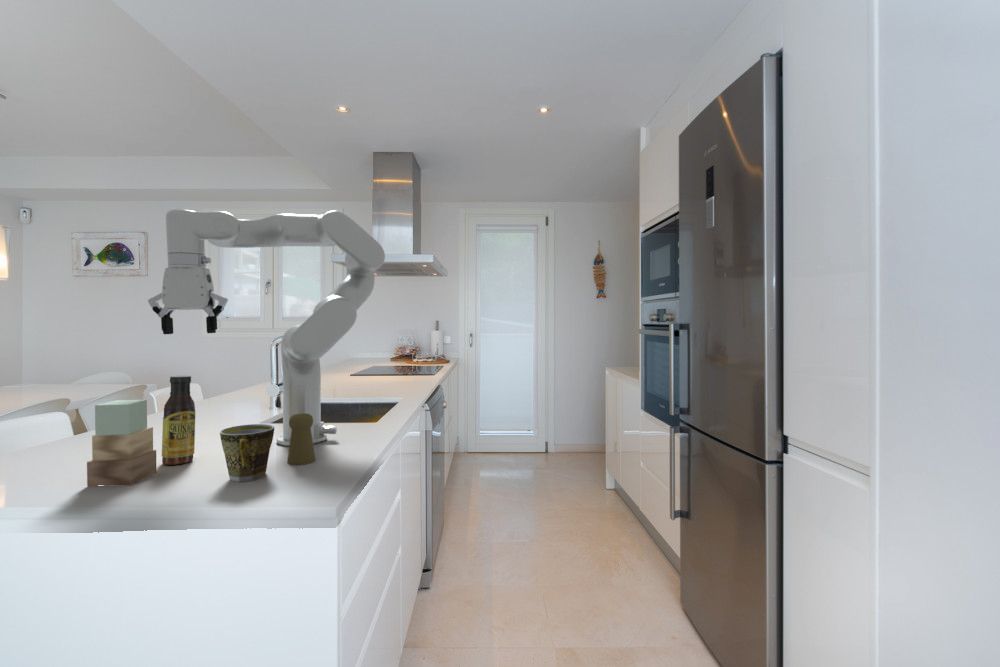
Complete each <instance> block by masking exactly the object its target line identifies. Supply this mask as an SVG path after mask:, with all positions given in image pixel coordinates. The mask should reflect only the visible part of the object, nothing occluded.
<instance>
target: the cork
mask: <svg viewBox="0 0 1000 667" xmlns="http://www.w3.org/2000/svg"><path fill="white" fill-rule="evenodd" d="M312 425H313V417H312V416H311V415H310V414H305V413H301V414H295V415H293V416H291V417H290V420H289V426H290V428H291V429H292V431H291V438H290V446H289V448H288V456H287V462H286V463H287V465H291V466H301V465H302V466H303V465H308V463H309V464H312V463H313V462H314V463H315V461H316V456H315V450H314V444H313V441H312V434H311V426H312Z"/></svg>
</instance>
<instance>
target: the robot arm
mask: <svg viewBox="0 0 1000 667" xmlns="http://www.w3.org/2000/svg"><path fill="white" fill-rule="evenodd" d="M165 225H166V226H165V228H166V230H165V231H166V248H167V249H166V251H167V266H168V267H165V268H164V273H163V278H162V286H161V287H162V288H161V289H162V290H161V293H158V294H157V295H155V296H153V297H151V298H149V299H148V300H147V303H148V304H149V306H150V307H151V309H152V311H153V312H154V313H155V314H156V315H157V316H158V317H159V318H160V321H161V322H160V323H161V324H160V325H161V331H162V334H163V335H172V334H174V320H173V319H174V318H173V317H171V316H172V315H173V314H174V312H175V311H176V310H182V311H183V310H186V311H187V310H188V311H189V310H203V311H204V312H205V313H206V314H207V315H208V316H206V318H205V321H206V333H207V334H216V332H217V329H218V319H217V318H218V316H219V315H220V314H221V313H222V312H223V311H224V310H225V307H226V306H227V304H228V301H229V299H228V298H227V297H225V296H222V295H221V294H218V293H216V292H215V289H214V282H213V278H212V274H211V270H210V268H206V267H207V264H211V263H212V259H211V257H207V256H206V252H205V251H206V249H205V241H206V240H207V241H208V243H210V244H211V245H212V246H215V247H218V248H225V249H226V248H236V249H237V248H238V249H239V248H240V249H241V248H243V249H246V248H279V247H280V248H282V247H335V246H337V247H338V248H339V249H340V250H341V251H342V252H344V253H345V256H344V262H345V263H344V264H345V268H346V272H345V273H346V274H345V277H344V279H343V280H342V281H341V282H340V283H339V284H338V285H337V286H336V287H335V288H334V289H333V290H332V291H331V292H329V294H327V295H326V296H325V297H324V298H323V299H322V300H320V301H319V302H318V303H317V304H316V306H314V309H313V312H312V314H311V315H310V316H309V317H308V318H307V319H305V321H304V322H302V323H301V324H296V325H293V326H291V327H289V328H288V329H287V330H286V331H285V332H284V333H283V335H282V338H281V343H280V352H281V364H282V434H281V435H279V436H277V437H276V443H277V444H279V445H280V446H290V438H291V431H292V429H291V428H290V426H289V420H290V417H291V416H293V415H295V414H301V413H305V414H310V415H311V416H312V417H313V425H312V426H311V434H312V441H313V445H314V444H317V443H321V441H322V442H324V441H326V440H327V438H328V436H327V434H328V435H337V431H338V430H337V426H334V425H327V426H326V425H325V423H324V422H325V421H321V420H322V419H321V418H322V416H321V415H322V414H321V413H322V412H321V409H322V408H321V407H322V406H321V405H322V404H321V403H322V402H321V401H322V399H321V383H322V382H321V380H322V377H321V376H322V375H321V374H322V373H321V363H320V362H321V361H320V358H322V357H324V356H325V355H326V354H327V353H328V352H329V351H330V350H331V349H332V348H333V347H334V346H335V345H336V344H337V343H338V342H339V341H340V340H341V339H342V338H343V337H344V336H345V335H346V334H347V333H349V331H350V330H351V329H352V327H353V326H354V325H355V323H356V320H357V316H358V314H357V311H358V310H359V309H360V308H361V307H362V305H364V303H365V302H366V301H367V300H368V298H369V297H370V296H371V294H372V292H373V290H374V286H375V279H376V278H375V271H377V270H378V269H380V268H381V267H382V266H383V264H384V262H385V260H386V259H385V258H386V254H385V251H384V248H383V246H382V245H381V244H380V242H378V240H376V239H375V238H374V237H373V236H372V235H370V234H369V233H368V232H367V231H366V230H365V229H364V228H363V227H361V226H360V225H359V224H358V223H357V222H356V221H354V220H353V219H352V218H351V217H350V216H348V215H347V214H345V213H344V212H341V211H339V210H330V211H327V212H325V213H323V214H297V213H278V214H277V213H276V214H273V215H269V216H268V217H262V218H258V219H257V218H256V219H238V218H237V217H236V216H234V215H233V214H232V213H230V212H227V211H225V210H224V211H222V210H221V211H220V210H214V211H213V210H212V211H209V210H208V211H195V210H190V209H180V208H178V209H177V208H176V209H170V210H168V211H167V212H166V214H165ZM161 301H162V306H163V308H162V307H161V306H160V304H159V303H160V302H161ZM216 301H217V302H218V303H217V306H216Z"/></svg>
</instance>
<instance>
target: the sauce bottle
mask: <svg viewBox="0 0 1000 667" xmlns="http://www.w3.org/2000/svg"><path fill="white" fill-rule="evenodd" d="M191 382H192V376H191V375H170V377H169V383H170V392H169V395H170V396H169V398H168V399H167V401H166V402H165V404H164V407H163V417H162V436H161V438H162V439H161V457H162V458H161V459H162V461H161V462H162V464H163V465H165V466H173V465H174V466H175V465H183V464H186V463H190V462H192V461H193V459H194V454H195V447H196V446H195V441H196V439H195V438H196V437H195V436H196V405H195V401H194V400H193V398H192V396H191Z"/></svg>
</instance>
